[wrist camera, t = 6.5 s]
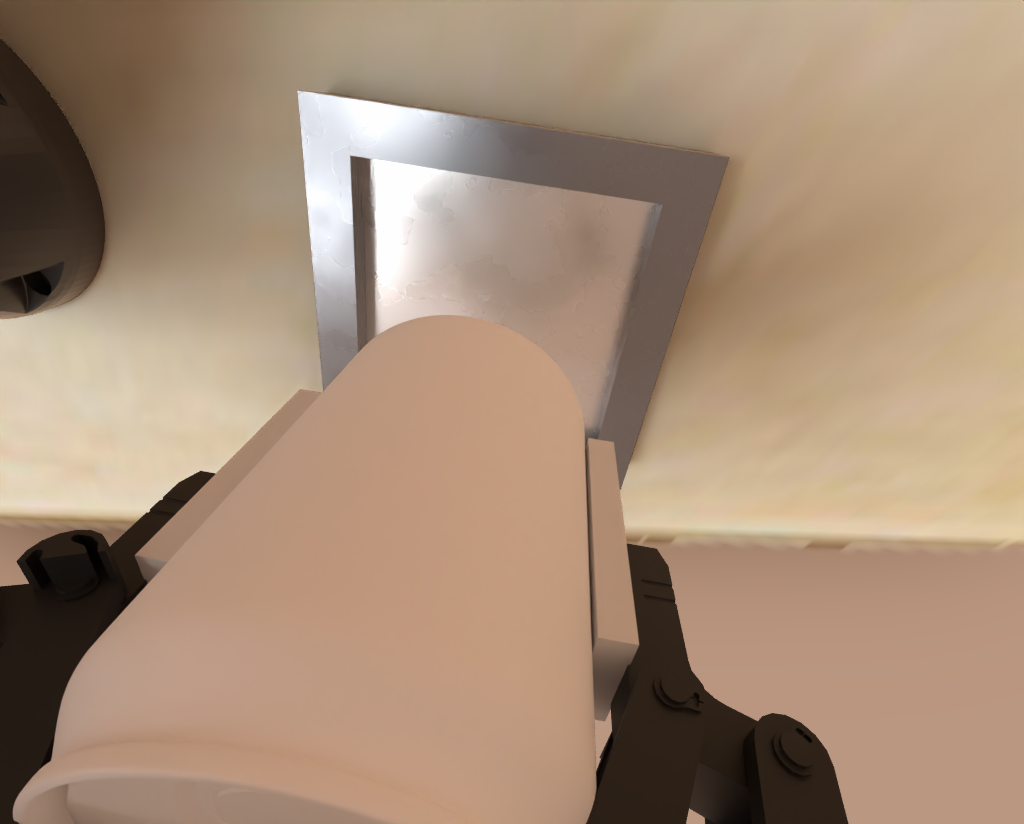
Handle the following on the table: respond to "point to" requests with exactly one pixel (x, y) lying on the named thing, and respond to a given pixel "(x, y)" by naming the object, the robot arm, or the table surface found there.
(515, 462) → the beverage can
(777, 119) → the table surface
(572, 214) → the chassis pocket
